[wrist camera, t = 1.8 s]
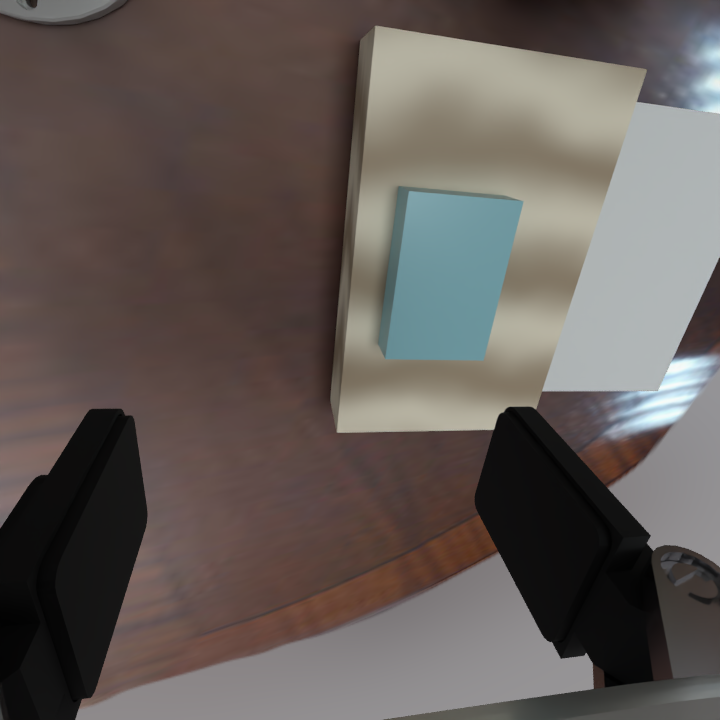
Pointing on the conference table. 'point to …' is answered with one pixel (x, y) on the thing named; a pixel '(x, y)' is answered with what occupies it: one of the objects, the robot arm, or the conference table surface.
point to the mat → (645, 255)
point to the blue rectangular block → (445, 273)
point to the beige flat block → (476, 175)
